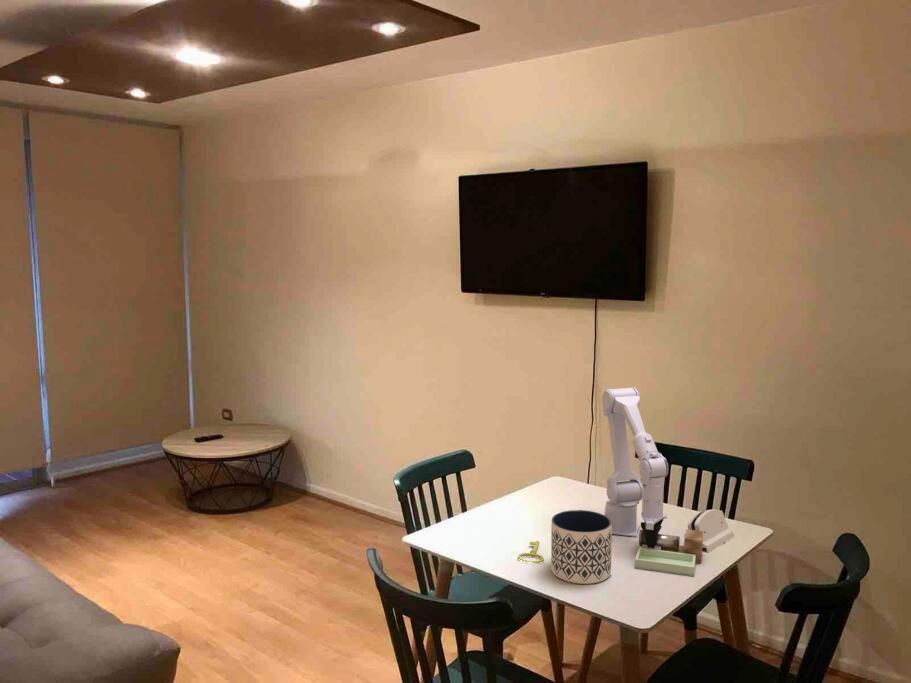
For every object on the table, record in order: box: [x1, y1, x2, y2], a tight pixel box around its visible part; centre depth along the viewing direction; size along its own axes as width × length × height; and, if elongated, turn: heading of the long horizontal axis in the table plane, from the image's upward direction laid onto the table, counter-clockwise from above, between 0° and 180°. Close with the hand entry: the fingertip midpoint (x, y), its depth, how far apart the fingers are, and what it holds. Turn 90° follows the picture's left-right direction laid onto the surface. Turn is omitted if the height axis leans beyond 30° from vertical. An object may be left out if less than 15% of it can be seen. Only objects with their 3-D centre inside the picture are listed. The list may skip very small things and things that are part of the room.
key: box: [517, 540, 545, 564], centre depth 207 cm, size 7×12×2 cm, turn 1°
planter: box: [550, 509, 613, 585], centre depth 195 cm, size 16×16×14 cm
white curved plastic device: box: [687, 508, 735, 553], centre depth 214 cm, size 17×5×10 cm, turn 133°
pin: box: [638, 529, 681, 550], centre depth 206 cm, size 11×5×5 cm, turn 69°
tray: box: [634, 547, 697, 577], centre depth 198 cm, size 15×8×2 cm, turn 69°
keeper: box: [659, 528, 703, 565], centre depth 204 cm, size 11×7×7 cm, turn 69°
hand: (651, 544), depth 207 cm, fingers closed on pin, 3 cm apart
